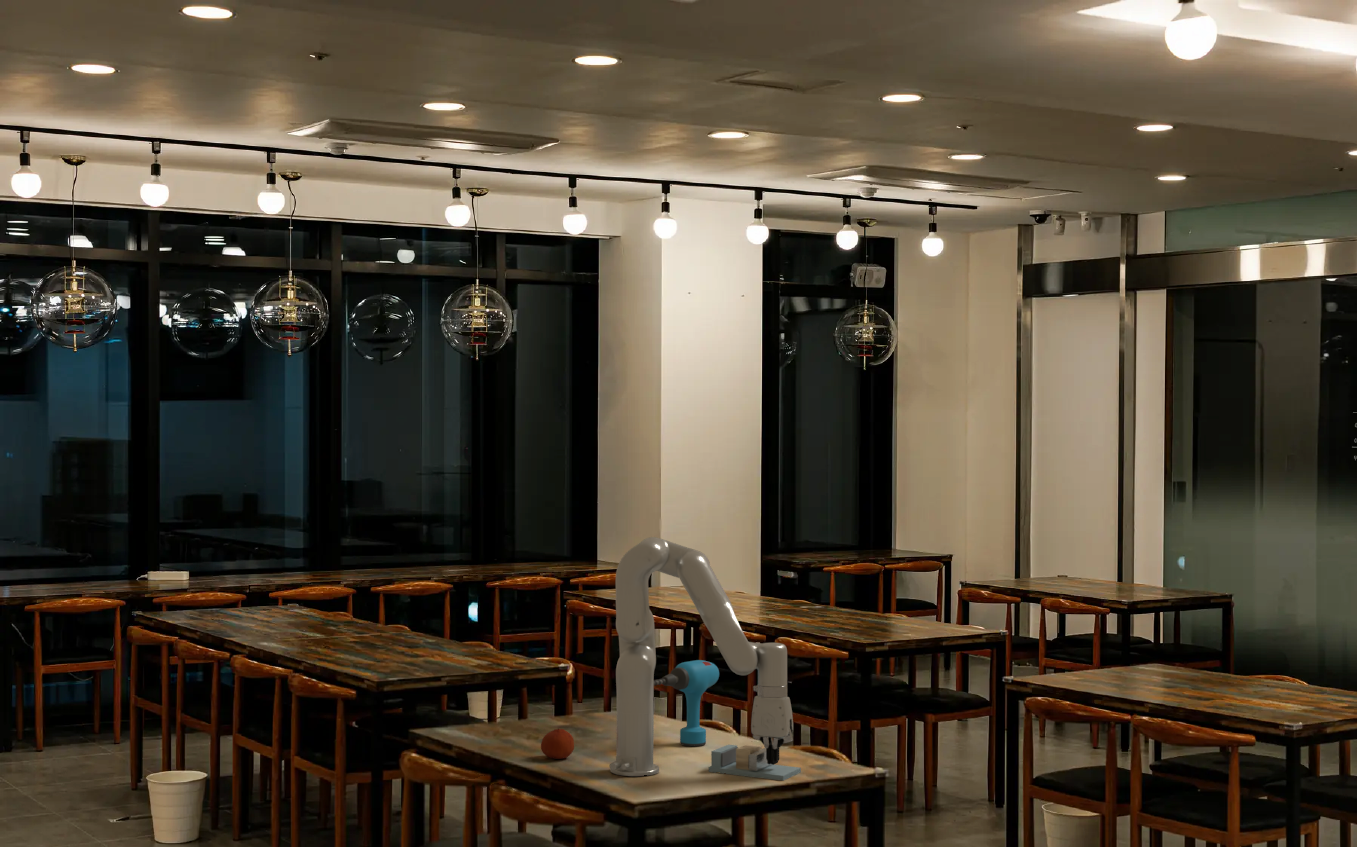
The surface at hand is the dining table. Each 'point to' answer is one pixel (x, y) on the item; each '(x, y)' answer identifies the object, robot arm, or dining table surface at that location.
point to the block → (745, 755)
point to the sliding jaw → (757, 760)
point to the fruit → (557, 744)
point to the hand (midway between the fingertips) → (772, 763)
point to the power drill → (692, 695)
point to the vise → (726, 763)
